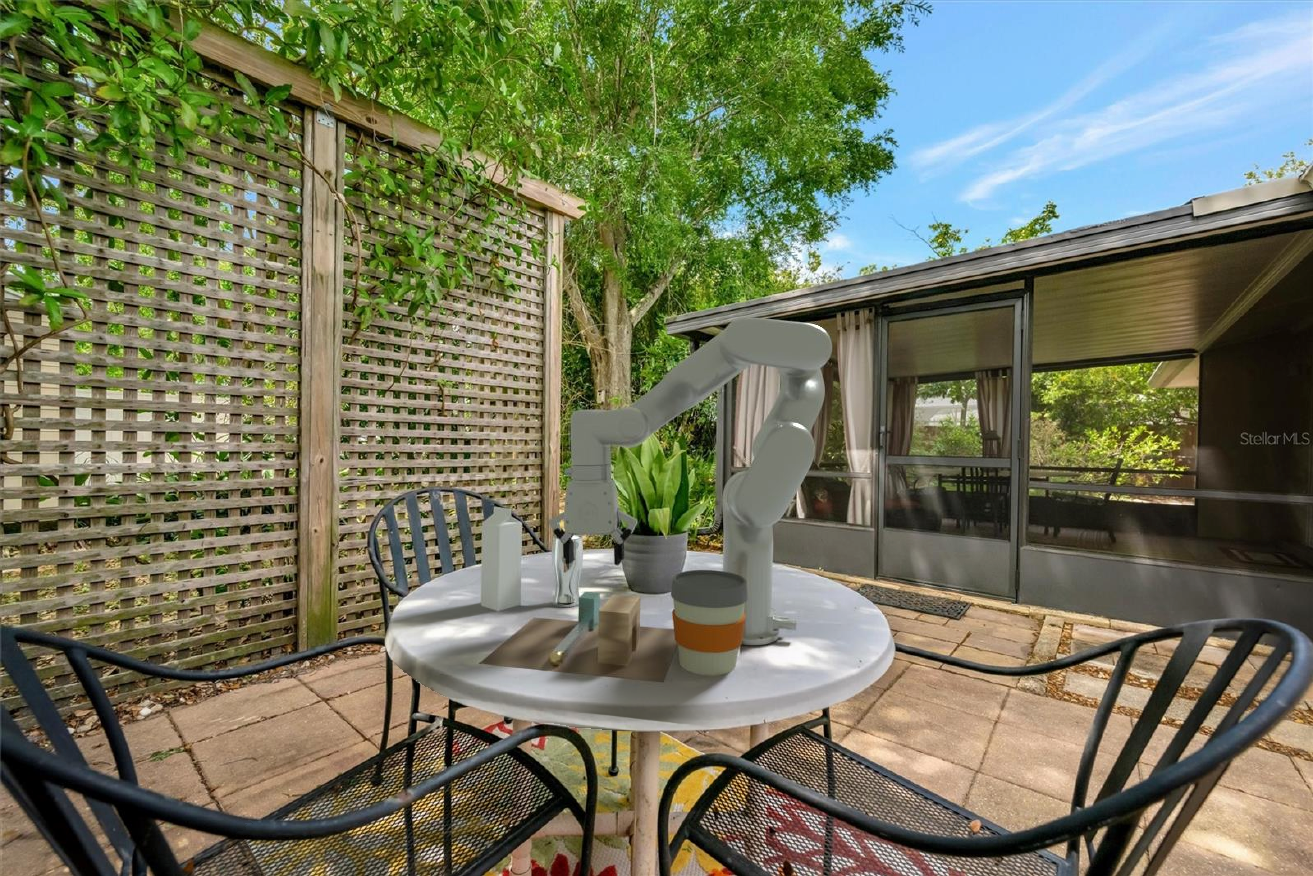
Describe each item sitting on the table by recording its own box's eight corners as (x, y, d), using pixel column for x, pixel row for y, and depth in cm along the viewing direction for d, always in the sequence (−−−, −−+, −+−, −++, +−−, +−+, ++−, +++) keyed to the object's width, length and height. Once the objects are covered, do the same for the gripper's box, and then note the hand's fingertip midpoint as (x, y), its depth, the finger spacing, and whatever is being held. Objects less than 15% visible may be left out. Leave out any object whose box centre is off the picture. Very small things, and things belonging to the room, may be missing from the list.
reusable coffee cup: (683, 692, 83) (686, 592, 82) (659, 658, 95) (661, 571, 95) (759, 683, 86) (761, 587, 86) (727, 651, 98) (729, 567, 98)
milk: (497, 617, 114) (499, 511, 114) (480, 610, 118) (481, 507, 117) (521, 609, 119) (522, 507, 118) (503, 604, 122) (505, 505, 122)
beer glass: (579, 608, 120) (580, 540, 120) (547, 607, 120) (549, 539, 120) (584, 598, 127) (585, 534, 127) (554, 598, 127) (555, 533, 127)
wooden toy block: (639, 644, 98) (640, 596, 98) (627, 665, 89) (628, 613, 88) (612, 642, 98) (613, 594, 98) (597, 663, 89) (598, 610, 89)
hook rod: (562, 668, 87) (563, 630, 87) (544, 666, 88) (545, 629, 87) (599, 623, 108) (599, 593, 108) (584, 622, 108) (585, 591, 108)
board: (682, 636, 105) (682, 629, 105) (663, 690, 83) (663, 682, 83) (533, 623, 110) (533, 617, 110) (478, 671, 88) (478, 663, 88)
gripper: (541, 476, 103) (543, 567, 104) (631, 475, 100) (633, 568, 101) (555, 473, 111) (557, 557, 111) (639, 472, 108) (641, 559, 108)
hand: (593, 563), depth 106 cm, fingers open, 9 cm apart
